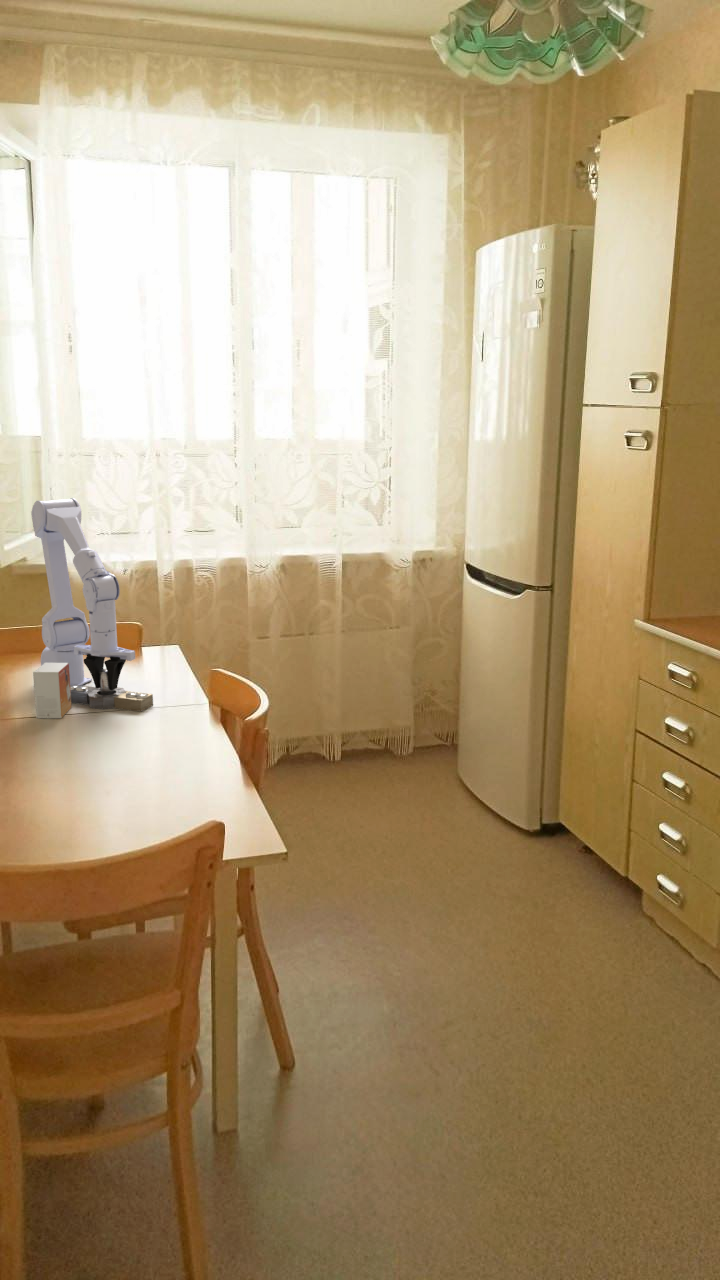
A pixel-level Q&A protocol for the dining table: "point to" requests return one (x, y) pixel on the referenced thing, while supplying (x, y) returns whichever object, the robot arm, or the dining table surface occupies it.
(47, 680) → the small box
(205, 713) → the dining table surface
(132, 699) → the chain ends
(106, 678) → the pin
